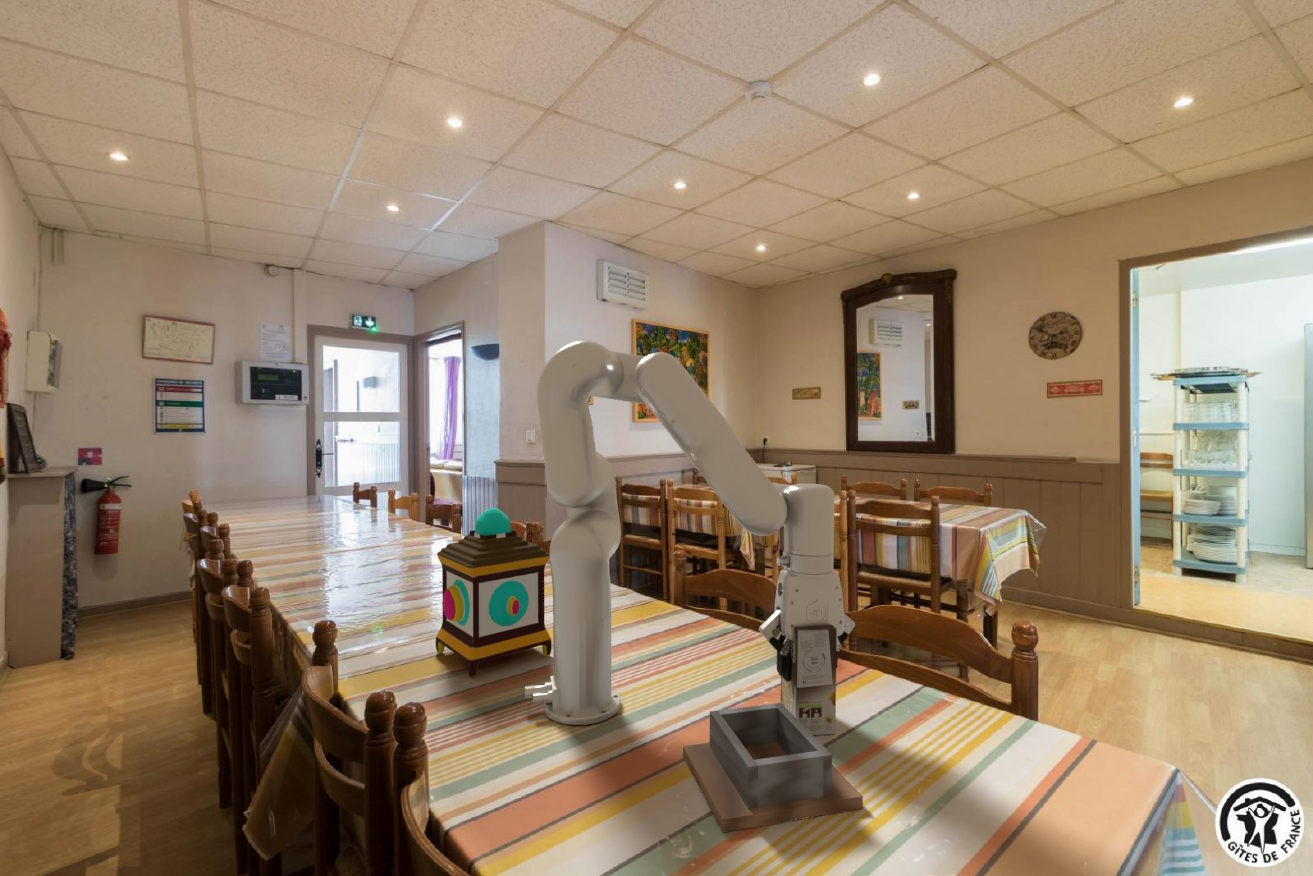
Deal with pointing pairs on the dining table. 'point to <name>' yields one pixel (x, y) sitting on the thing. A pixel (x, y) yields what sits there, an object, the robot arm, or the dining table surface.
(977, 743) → the dining table surface
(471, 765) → the dining table surface
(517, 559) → the decorative lantern
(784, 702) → the coffee box
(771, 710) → the post socket
